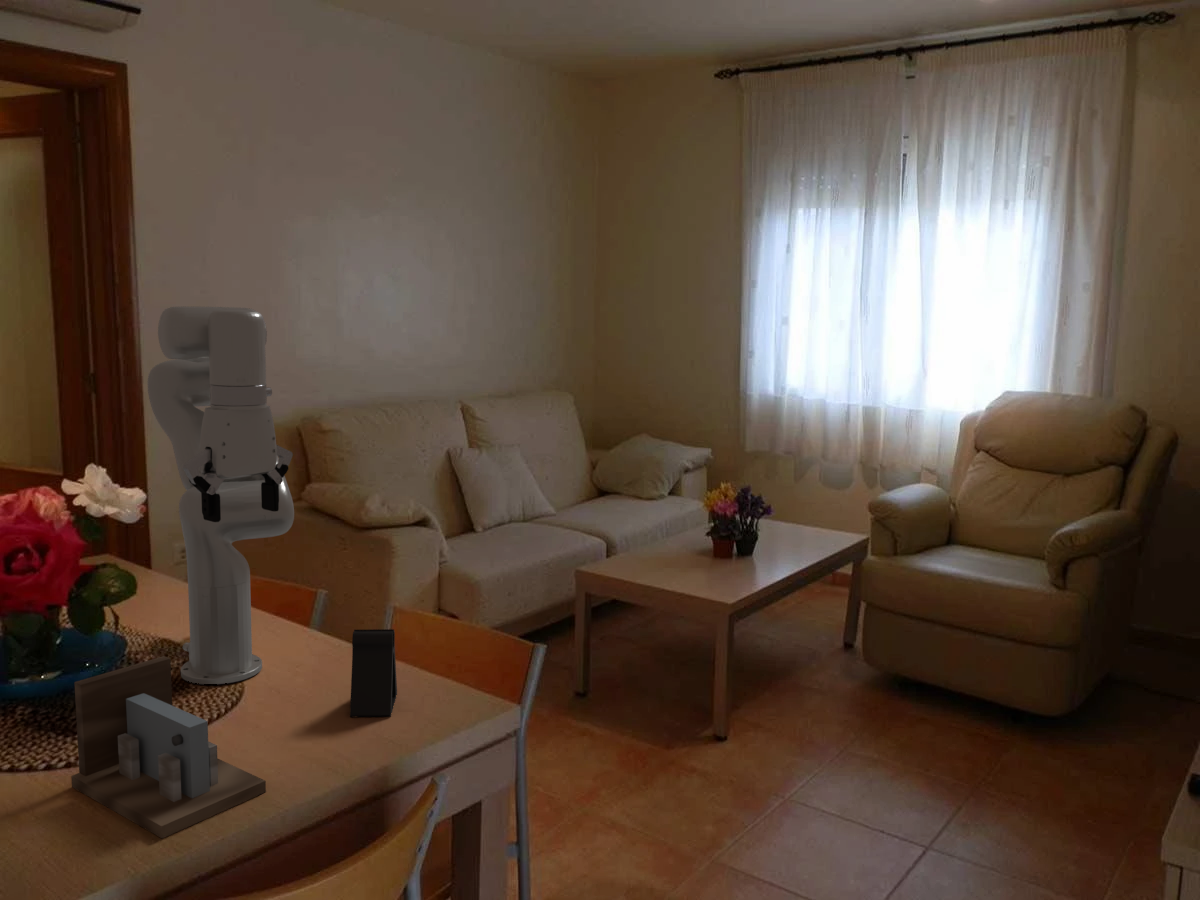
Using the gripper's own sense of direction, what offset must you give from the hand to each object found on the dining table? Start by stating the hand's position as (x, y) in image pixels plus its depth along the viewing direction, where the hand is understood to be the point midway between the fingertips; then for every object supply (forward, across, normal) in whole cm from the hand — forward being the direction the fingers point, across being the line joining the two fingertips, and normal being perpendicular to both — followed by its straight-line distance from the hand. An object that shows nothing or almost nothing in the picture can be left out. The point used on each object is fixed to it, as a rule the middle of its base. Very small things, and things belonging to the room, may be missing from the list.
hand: (241, 515), depth 144 cm
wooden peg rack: (+30, +20, +12) cm, 38 cm away
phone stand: (+31, -14, +12) cm, 36 cm away
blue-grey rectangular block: (+29, +20, +12) cm, 37 cm away
